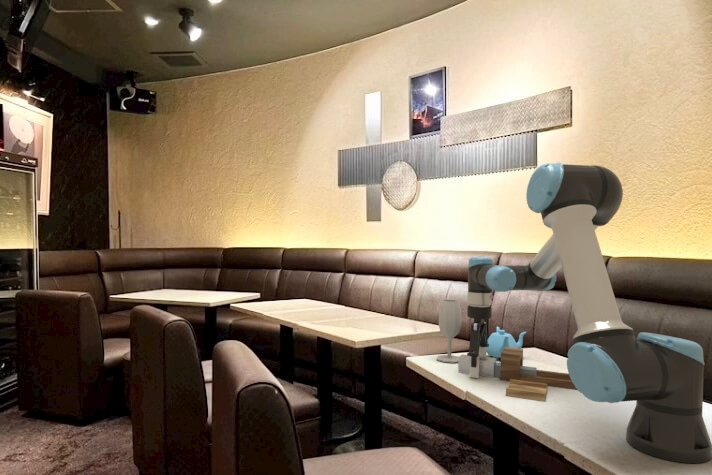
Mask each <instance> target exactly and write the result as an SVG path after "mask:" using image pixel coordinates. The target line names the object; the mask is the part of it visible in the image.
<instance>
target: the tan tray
mask: <svg viewBox="0 0 712 475" xmlns="http://www.w3.org/2000/svg"><path fill="white" fill-rule="evenodd" d="M547 391H548V386H547V384H545V383H537V382H529V381H522V380H514V379H510V381H509V385H508V386H507V387H505V396H506V397H512V398H519V399H527V400H532V401H538V402H539V401H541V402H546V398H547Z"/></svg>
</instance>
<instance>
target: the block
mask: <svg viewBox="0 0 712 475" xmlns="http://www.w3.org/2000/svg"><path fill="white" fill-rule="evenodd" d="M458 357H459V360H458V362H457V364H458V367H457V368H458V369H457V370H458V373H459V374H466V375H469V371H470V356H467V354H461V355H459V356H458ZM496 363H497V360H496V358H493V357H490V356H489V357H487V356H486V357H481V356H479V376H481V377H489V378H495V377H494V365H495V364H496Z"/></svg>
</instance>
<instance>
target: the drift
mask: <svg viewBox="0 0 712 475" xmlns="http://www.w3.org/2000/svg"><path fill="white" fill-rule="evenodd" d="M500 370H501V362H496V364H495V365H494V377H493V378H500ZM537 370H538V369H537V367H536V366H535V367H534V366H527V365H523V366H520V374H524V375H531V376H536V373H537Z"/></svg>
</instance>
